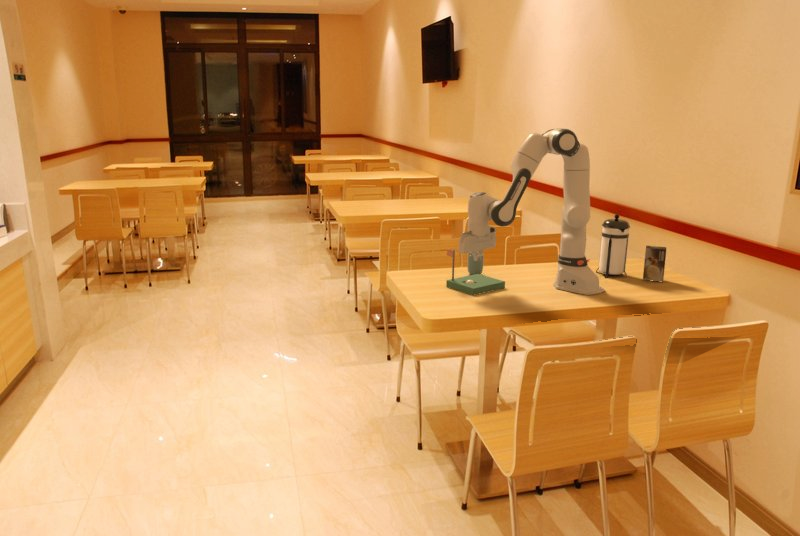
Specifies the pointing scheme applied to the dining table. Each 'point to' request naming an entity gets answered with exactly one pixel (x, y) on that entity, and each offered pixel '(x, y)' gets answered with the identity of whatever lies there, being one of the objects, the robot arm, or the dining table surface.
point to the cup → (475, 264)
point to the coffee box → (654, 263)
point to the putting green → (480, 281)
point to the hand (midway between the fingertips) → (477, 260)
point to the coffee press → (614, 246)
